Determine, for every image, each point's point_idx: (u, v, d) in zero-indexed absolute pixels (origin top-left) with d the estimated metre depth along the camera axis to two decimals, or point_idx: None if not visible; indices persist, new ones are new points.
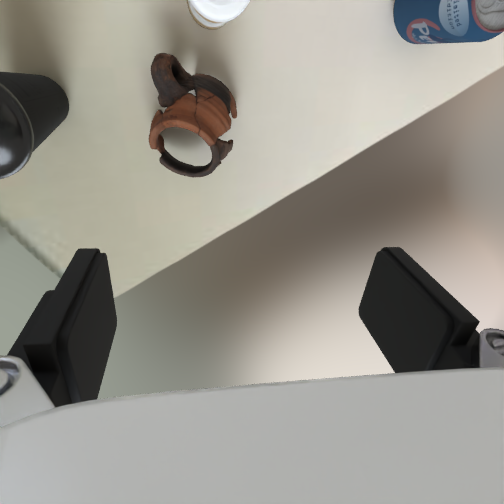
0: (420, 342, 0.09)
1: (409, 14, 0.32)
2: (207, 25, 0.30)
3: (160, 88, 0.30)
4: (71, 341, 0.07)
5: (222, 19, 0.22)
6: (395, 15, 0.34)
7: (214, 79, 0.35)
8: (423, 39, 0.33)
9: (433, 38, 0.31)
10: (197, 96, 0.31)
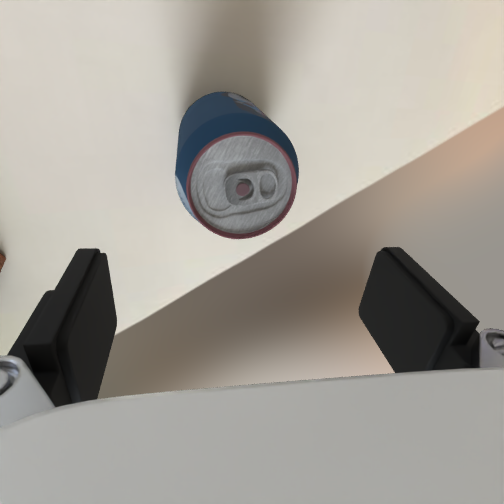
0: (420, 342, 0.09)
1: None
2: None
3: None
4: (71, 341, 0.07)
5: None
6: None
7: None
8: None
9: None
10: None
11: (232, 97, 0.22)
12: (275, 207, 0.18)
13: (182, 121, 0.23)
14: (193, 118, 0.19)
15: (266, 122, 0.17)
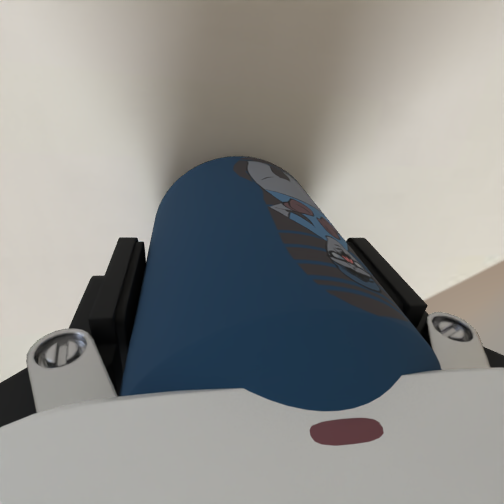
0: None
1: None
2: None
3: None
4: (126, 317, 0.08)
5: None
6: None
7: None
8: None
9: None
10: None
11: (259, 182, 0.10)
12: None
13: (157, 216, 0.12)
14: (171, 254, 0.08)
15: (386, 333, 0.05)
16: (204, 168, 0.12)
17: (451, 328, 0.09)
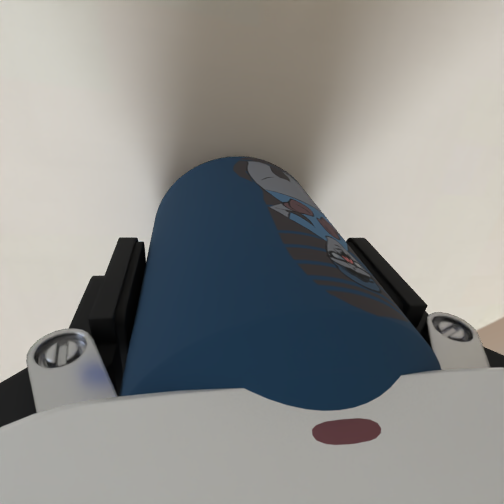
0: None
1: None
2: None
3: None
4: (126, 317, 0.08)
5: None
6: None
7: None
8: None
9: None
10: None
11: (259, 182, 0.10)
12: None
13: (158, 216, 0.12)
14: (171, 254, 0.08)
15: (386, 333, 0.05)
16: (204, 168, 0.12)
17: (451, 328, 0.09)
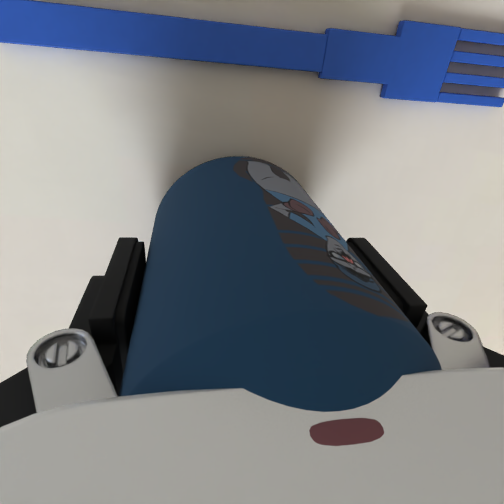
0: None
1: None
2: None
3: None
4: (126, 317, 0.08)
5: None
6: None
7: None
8: None
9: None
10: None
11: (259, 182, 0.10)
12: None
13: (157, 216, 0.12)
14: (171, 254, 0.08)
15: (386, 333, 0.05)
16: (204, 168, 0.12)
17: (451, 328, 0.09)
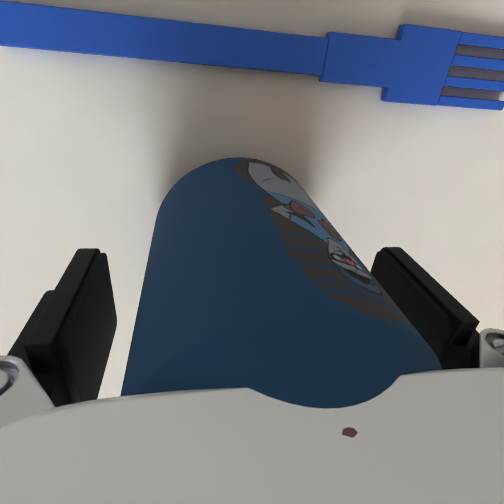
0: None
1: None
2: None
3: None
4: (71, 341, 0.07)
5: None
6: None
7: None
8: None
9: None
10: None
11: (260, 184, 0.10)
12: None
13: (158, 217, 0.12)
14: (172, 256, 0.08)
15: (388, 336, 0.05)
16: (205, 169, 0.12)
17: None
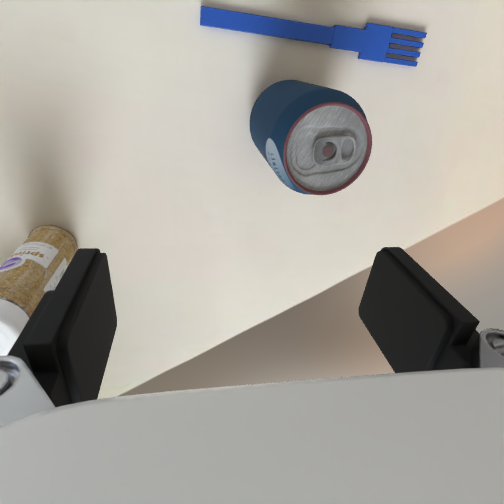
0: (420, 342, 0.09)
1: (256, 142, 0.27)
2: None
3: None
4: (71, 341, 0.07)
5: None
6: (251, 135, 0.30)
7: None
8: None
9: None
10: None
11: None
12: (350, 169, 0.22)
13: (258, 103, 0.27)
14: (280, 96, 0.23)
15: (349, 97, 0.21)
16: (279, 82, 0.27)
17: None
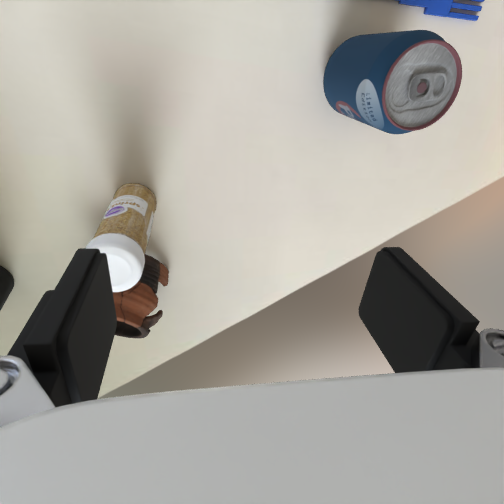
0: (420, 342, 0.09)
1: (334, 93, 0.30)
2: None
3: None
4: (71, 341, 0.07)
5: (118, 291, 0.26)
6: (325, 89, 0.32)
7: None
8: None
9: (359, 120, 0.29)
10: None
11: None
12: (438, 105, 0.24)
13: (335, 56, 0.30)
14: (368, 43, 0.26)
15: (441, 37, 0.23)
16: (355, 37, 0.30)
17: None
